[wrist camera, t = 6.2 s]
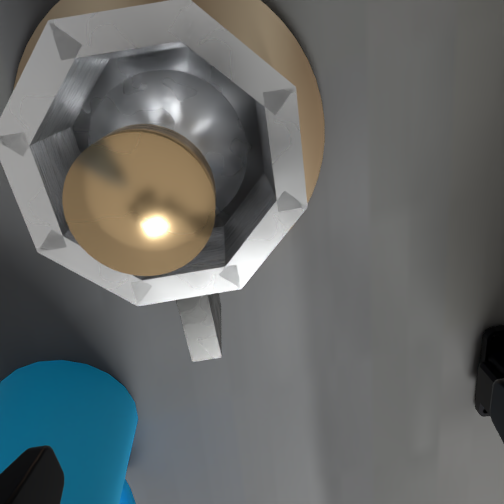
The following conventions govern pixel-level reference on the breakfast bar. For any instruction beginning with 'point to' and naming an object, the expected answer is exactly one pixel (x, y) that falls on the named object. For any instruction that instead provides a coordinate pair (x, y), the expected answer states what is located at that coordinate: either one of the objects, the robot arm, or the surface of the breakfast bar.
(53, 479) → the robot arm
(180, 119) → the plunger
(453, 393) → the breakfast bar surface
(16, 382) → the mug
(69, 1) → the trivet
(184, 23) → the grey piece
